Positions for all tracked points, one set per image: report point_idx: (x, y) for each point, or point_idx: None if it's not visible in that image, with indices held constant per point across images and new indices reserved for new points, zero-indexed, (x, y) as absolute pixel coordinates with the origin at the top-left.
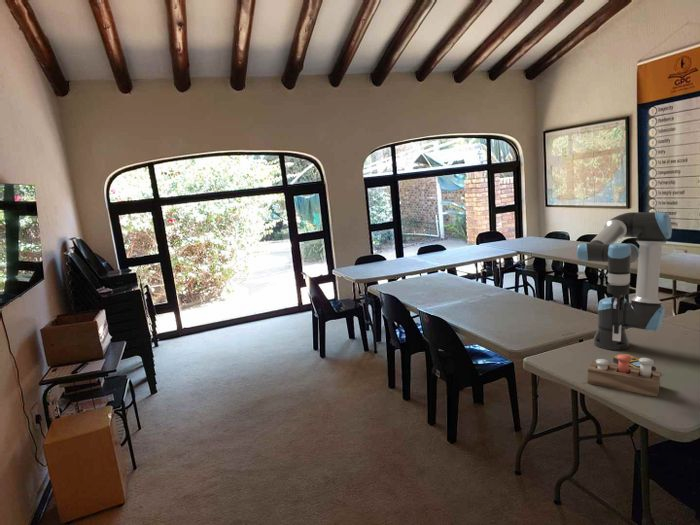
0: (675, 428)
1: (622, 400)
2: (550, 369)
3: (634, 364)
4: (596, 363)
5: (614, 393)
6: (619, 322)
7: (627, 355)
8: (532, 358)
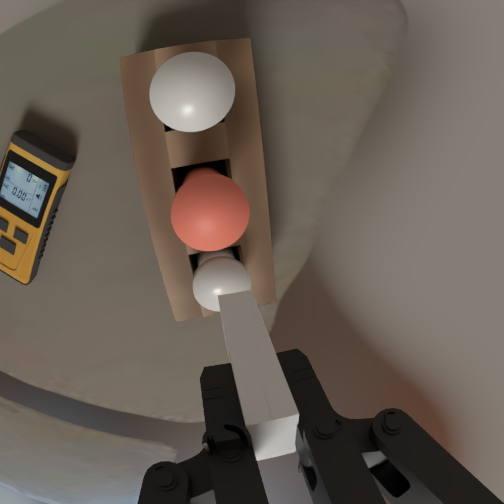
0: (405, 14)
1: (331, 143)
2: None
3: (37, 201)
4: None
5: (294, 177)
6: (359, 453)
7: (177, 205)
8: (190, 419)
